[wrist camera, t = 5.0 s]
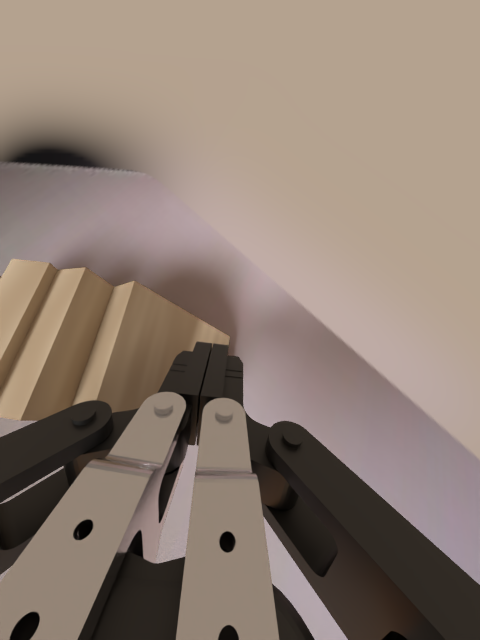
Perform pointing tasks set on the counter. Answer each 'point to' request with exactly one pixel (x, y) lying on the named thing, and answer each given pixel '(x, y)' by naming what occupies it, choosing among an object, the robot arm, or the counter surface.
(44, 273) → the domino
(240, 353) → the counter surface
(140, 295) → the domino
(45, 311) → the domino
